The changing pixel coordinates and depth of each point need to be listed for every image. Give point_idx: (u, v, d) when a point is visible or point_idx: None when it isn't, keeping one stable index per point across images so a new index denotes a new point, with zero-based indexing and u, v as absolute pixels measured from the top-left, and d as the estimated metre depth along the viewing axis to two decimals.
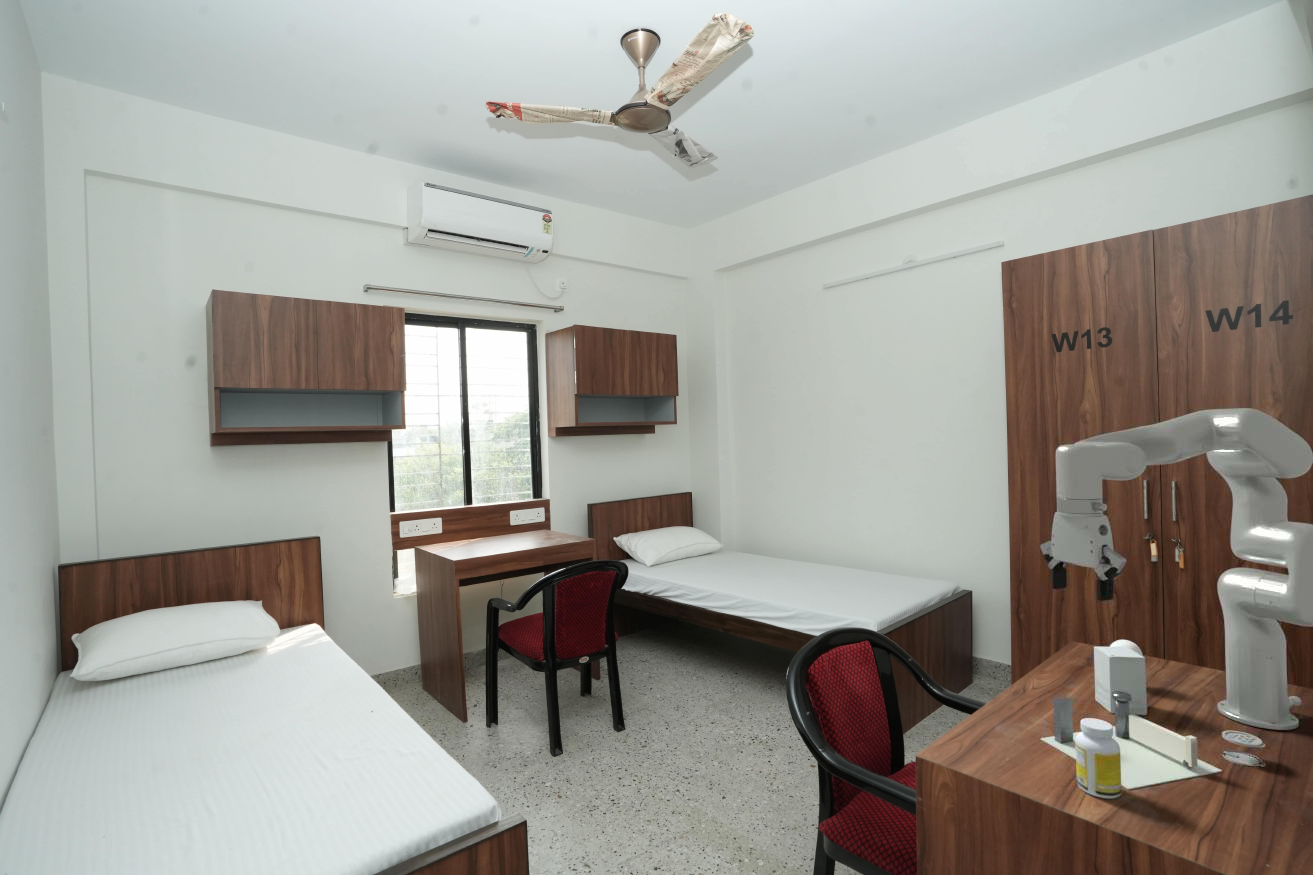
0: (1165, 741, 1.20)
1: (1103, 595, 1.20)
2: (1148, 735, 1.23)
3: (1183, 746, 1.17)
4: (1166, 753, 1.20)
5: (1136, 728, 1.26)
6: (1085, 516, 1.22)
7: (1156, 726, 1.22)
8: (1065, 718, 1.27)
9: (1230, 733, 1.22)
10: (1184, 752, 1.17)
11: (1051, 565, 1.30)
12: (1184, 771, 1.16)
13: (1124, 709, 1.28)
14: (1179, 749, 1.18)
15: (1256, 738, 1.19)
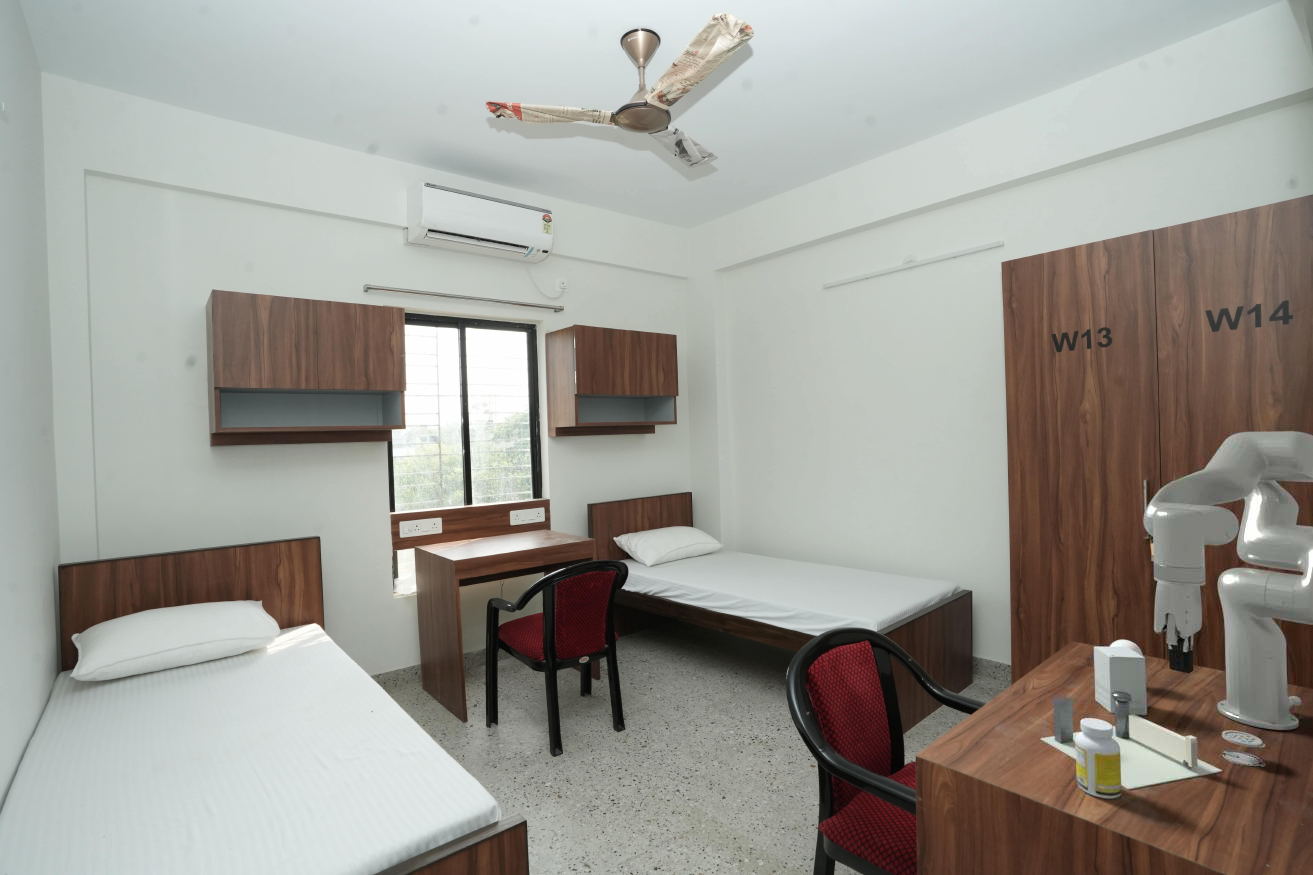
0: (1165, 741, 1.20)
1: None
2: (1148, 735, 1.23)
3: (1183, 746, 1.17)
4: (1166, 753, 1.20)
5: (1136, 728, 1.26)
6: None
7: (1156, 726, 1.22)
8: (1065, 718, 1.27)
9: (1230, 733, 1.22)
10: (1184, 752, 1.17)
11: (1187, 648, 1.19)
12: (1184, 771, 1.16)
13: (1124, 709, 1.28)
14: (1179, 749, 1.18)
15: (1256, 738, 1.19)
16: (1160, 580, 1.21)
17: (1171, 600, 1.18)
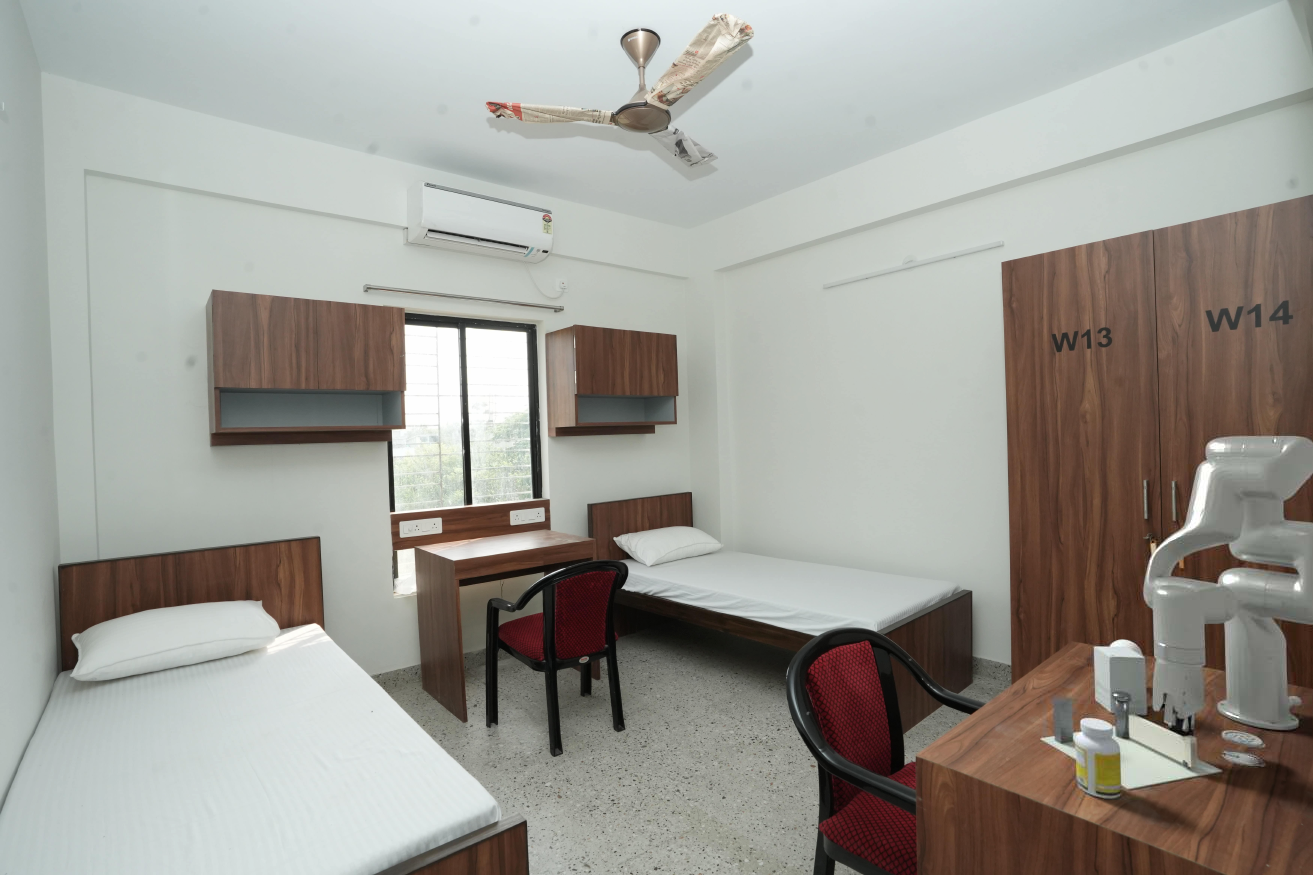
0: (1165, 741, 1.20)
1: None
2: (1148, 735, 1.23)
3: (1183, 746, 1.17)
4: (1166, 753, 1.20)
5: (1136, 728, 1.26)
6: None
7: (1156, 726, 1.22)
8: (1065, 718, 1.27)
9: (1230, 733, 1.22)
10: (1184, 752, 1.17)
11: (1186, 728, 1.19)
12: (1184, 771, 1.16)
13: (1124, 709, 1.28)
14: (1179, 749, 1.18)
15: (1256, 738, 1.19)
16: (1159, 658, 1.21)
17: (1169, 680, 1.18)
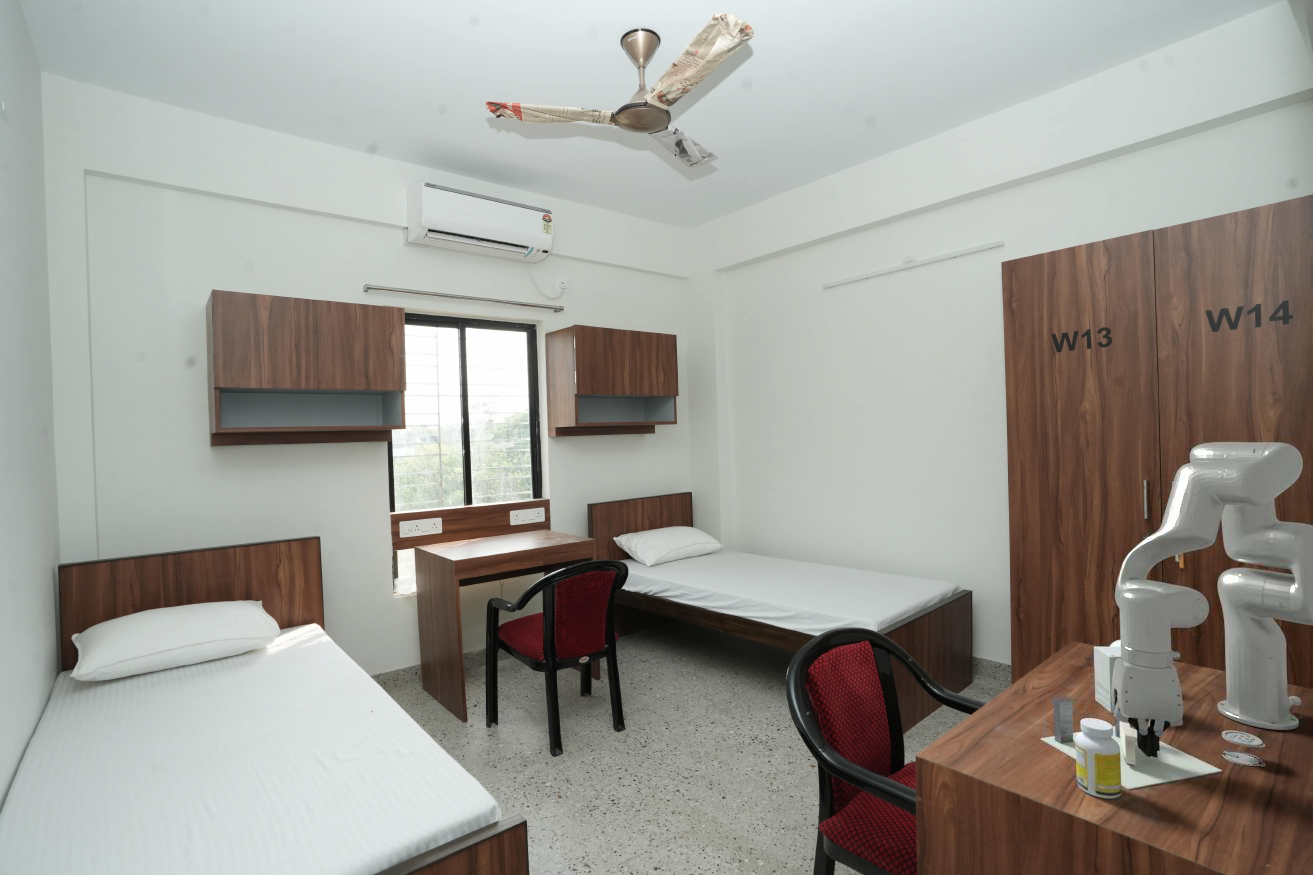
0: (1123, 738, 1.22)
1: None
2: (1121, 733, 1.25)
3: None
4: None
5: (1120, 726, 1.27)
6: (1169, 668, 1.17)
7: (1124, 725, 1.23)
8: (1065, 718, 1.27)
9: (1230, 733, 1.22)
10: None
11: (1143, 731, 1.19)
12: (1184, 771, 1.16)
13: None
14: None
15: (1256, 738, 1.19)
16: None
17: (1117, 677, 1.21)
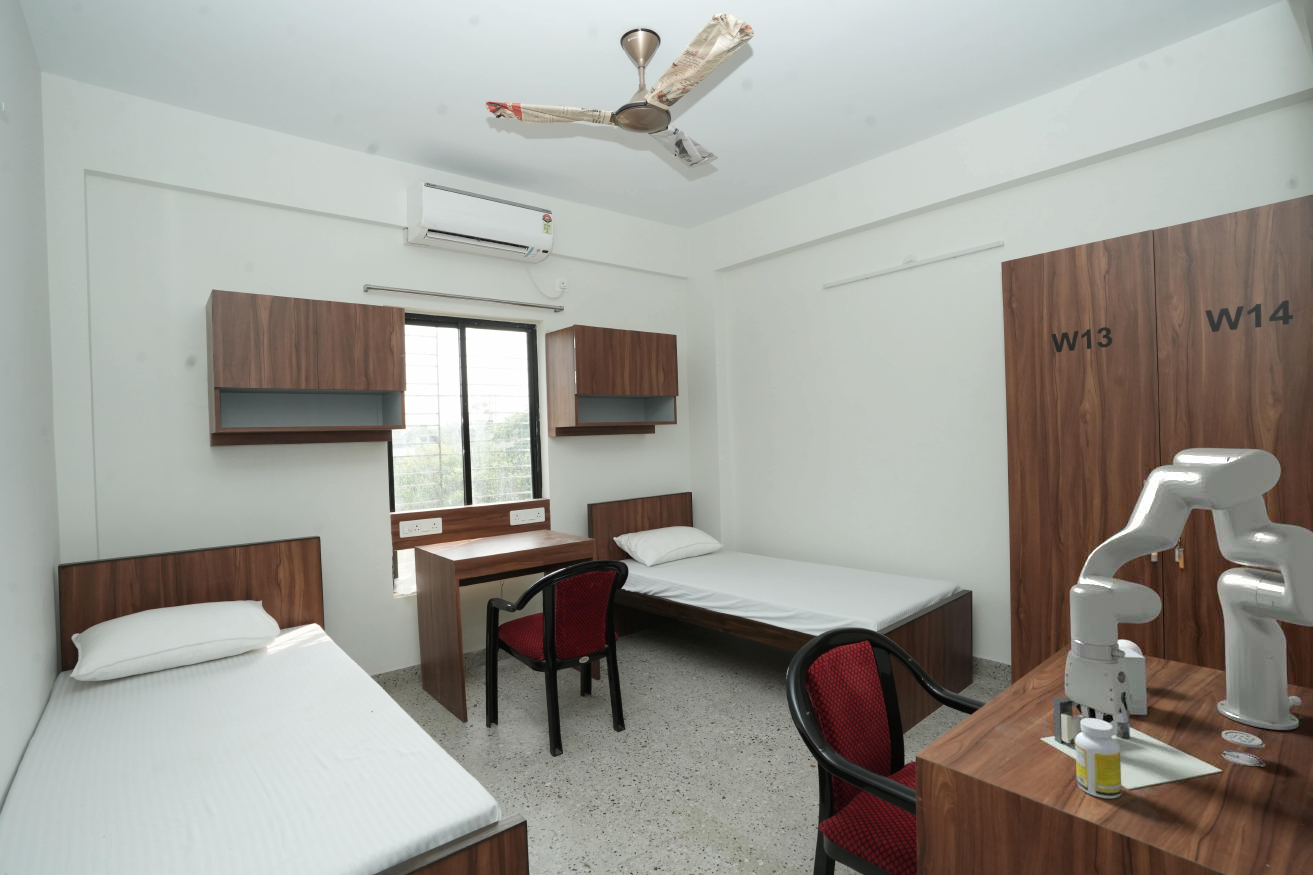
0: None
1: None
2: None
3: None
4: None
5: None
6: (1104, 662, 1.21)
7: None
8: None
9: (1230, 733, 1.22)
10: None
11: (1086, 717, 1.25)
12: (1184, 771, 1.16)
13: None
14: None
15: (1256, 738, 1.19)
16: None
17: None
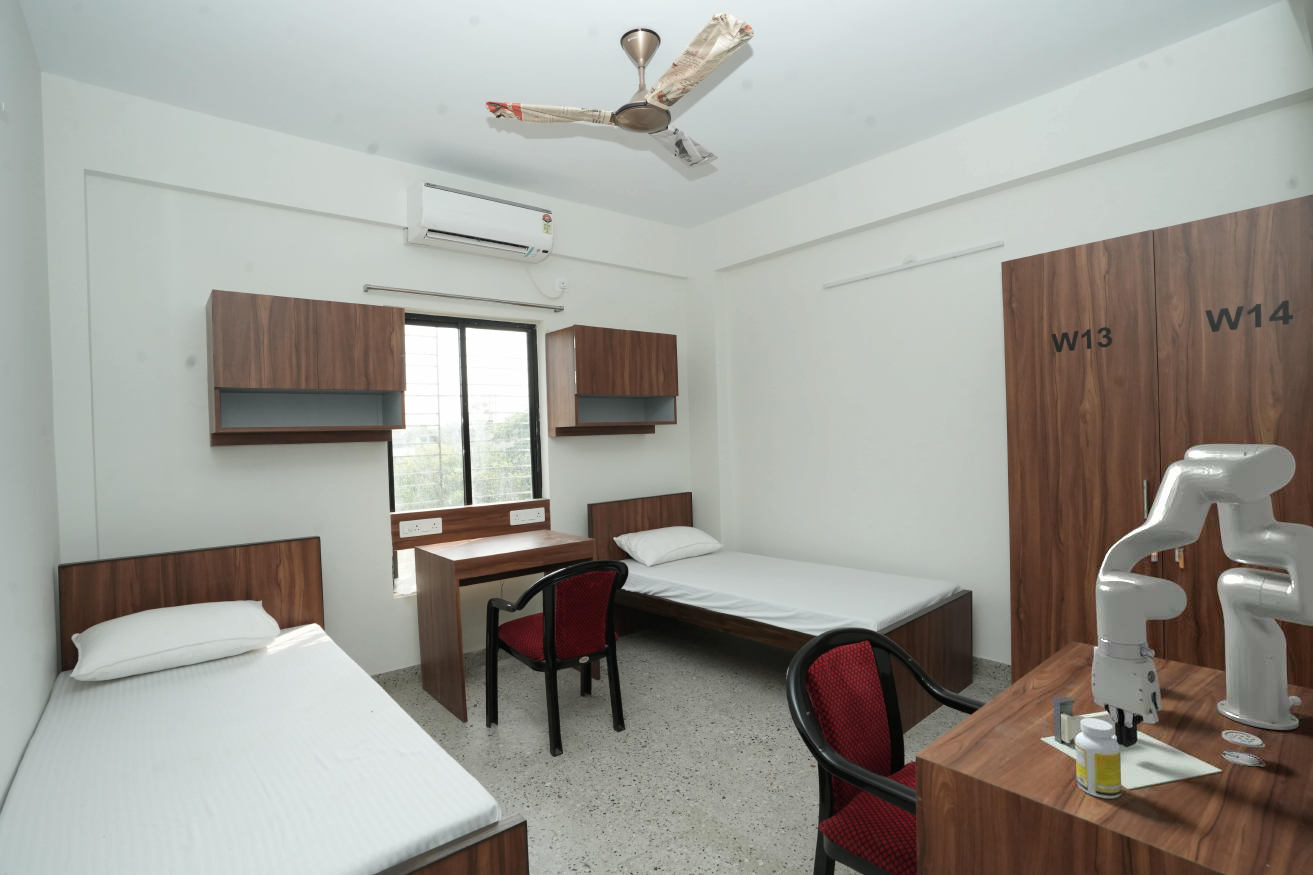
0: None
1: (1128, 741, 1.20)
2: None
3: None
4: None
5: None
6: (1132, 662, 1.17)
7: (1091, 714, 1.28)
8: None
9: (1230, 733, 1.22)
10: None
11: (1114, 718, 1.21)
12: (1184, 771, 1.16)
13: None
14: None
15: (1256, 738, 1.19)
16: None
17: None
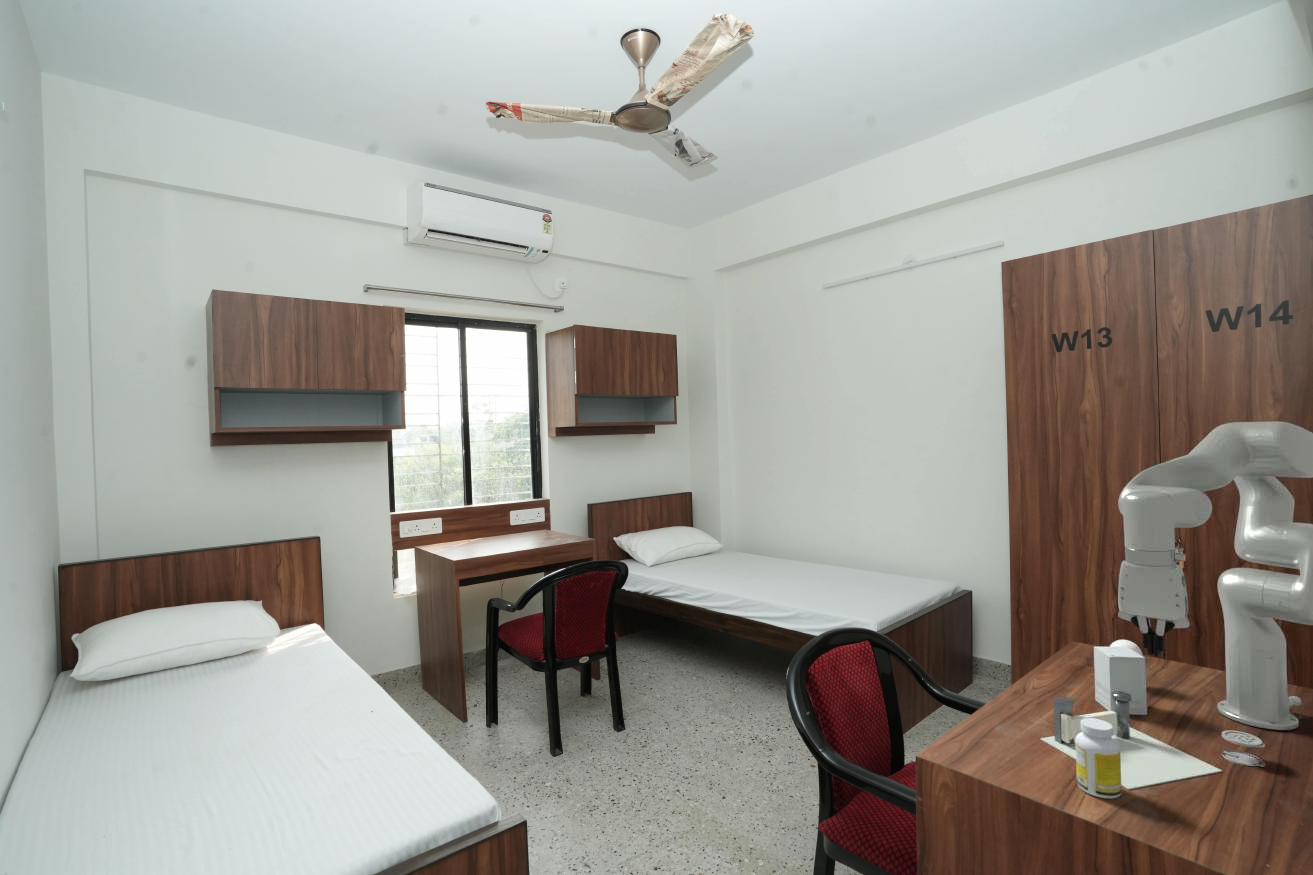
0: None
1: (1158, 650, 1.19)
2: None
3: None
4: None
5: None
6: (1167, 568, 1.17)
7: (1091, 714, 1.28)
8: None
9: (1230, 733, 1.22)
10: None
11: (1144, 629, 1.20)
12: (1184, 771, 1.16)
13: (1124, 709, 1.28)
14: None
15: (1256, 738, 1.19)
16: None
17: None
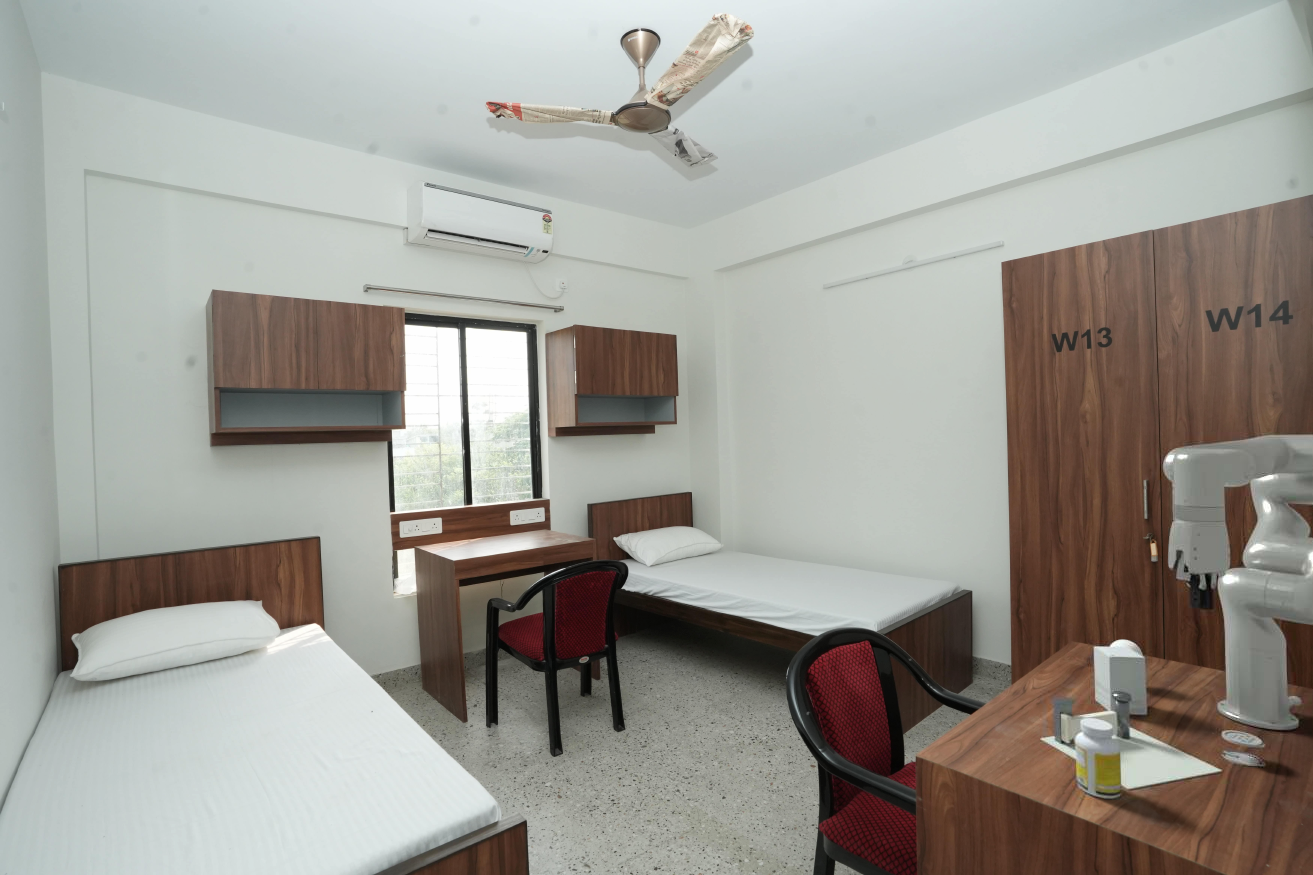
0: None
1: None
2: None
3: None
4: None
5: None
6: None
7: (1091, 714, 1.28)
8: None
9: (1230, 733, 1.22)
10: None
11: (1203, 585, 1.23)
12: (1184, 771, 1.16)
13: (1124, 709, 1.28)
14: None
15: (1256, 738, 1.19)
16: (1176, 519, 1.26)
17: (1181, 537, 1.24)
